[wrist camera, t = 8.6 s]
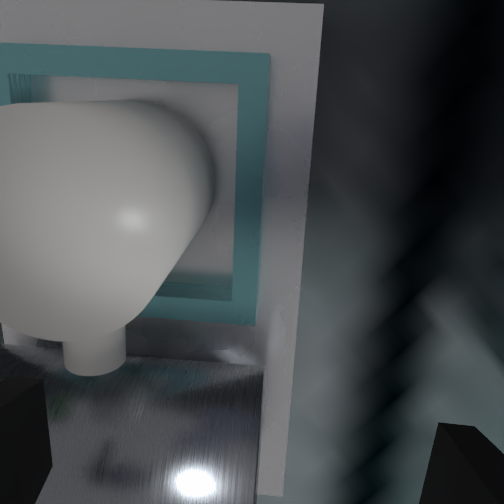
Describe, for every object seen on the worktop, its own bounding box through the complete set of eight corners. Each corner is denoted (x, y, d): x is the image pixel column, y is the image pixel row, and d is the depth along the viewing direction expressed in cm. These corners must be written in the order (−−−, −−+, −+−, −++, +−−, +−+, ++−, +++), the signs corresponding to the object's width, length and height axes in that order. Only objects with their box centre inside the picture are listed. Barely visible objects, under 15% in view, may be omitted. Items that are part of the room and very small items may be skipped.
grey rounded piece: (218, 105, 14) (168, 112, 8) (210, 304, 16) (166, 417, 11) (59, 94, 14) (-94, 94, 9) (72, 291, 17) (-42, 394, 11)
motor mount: (321, 12, 14) (346, -63, 7) (283, 468, 20) (277, 669, 13) (-48, 0, 15) (-346, -79, 8) (21, 442, 21) (-117, 618, 14)
